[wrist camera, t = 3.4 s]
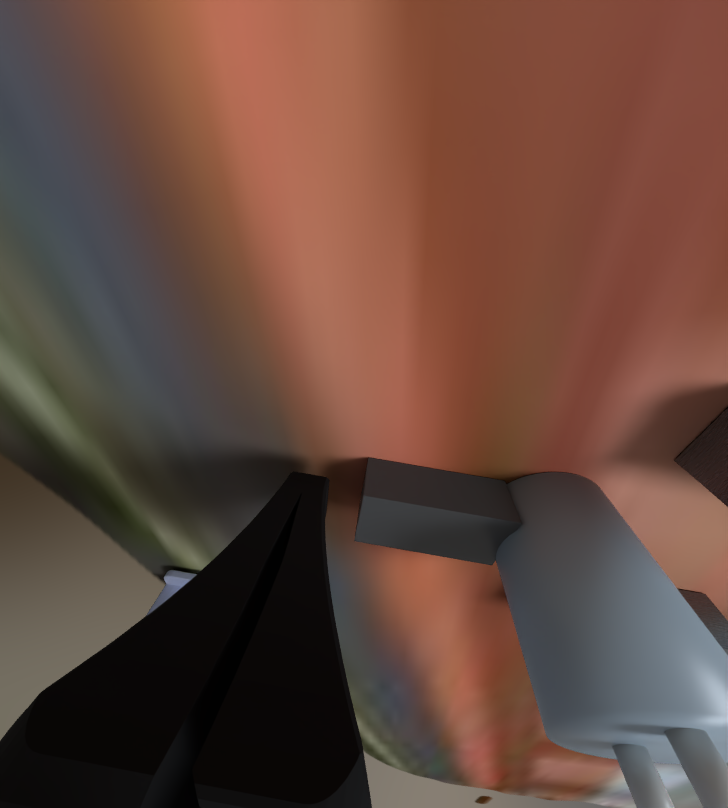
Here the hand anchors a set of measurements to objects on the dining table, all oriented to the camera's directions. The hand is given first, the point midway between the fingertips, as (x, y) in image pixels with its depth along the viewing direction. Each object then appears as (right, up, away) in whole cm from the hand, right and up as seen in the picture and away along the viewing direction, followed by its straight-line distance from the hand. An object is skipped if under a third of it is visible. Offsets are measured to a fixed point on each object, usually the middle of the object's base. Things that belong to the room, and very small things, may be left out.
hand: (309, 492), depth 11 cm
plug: (+7, -1, +1) cm, 7 cm away
